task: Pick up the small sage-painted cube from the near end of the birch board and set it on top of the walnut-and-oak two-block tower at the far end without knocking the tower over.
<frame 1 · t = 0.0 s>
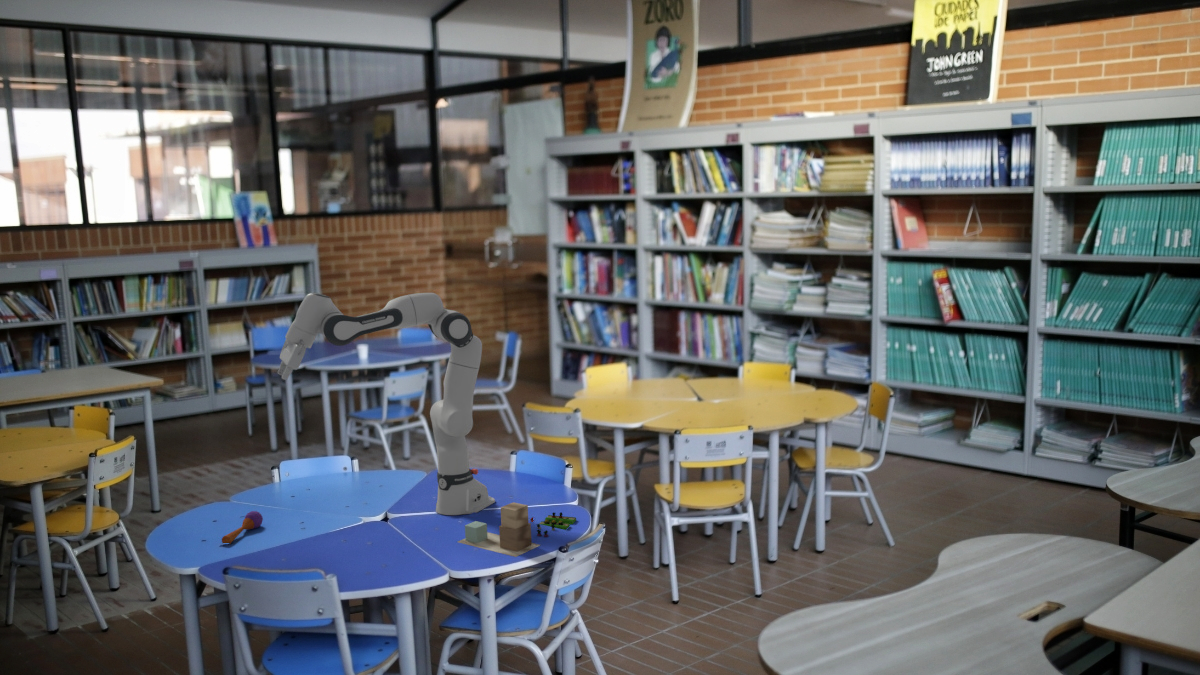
hand: (281, 377, 319), 54 cm above the table, tool tilted 30°, fingers open, 8 cm apart
orange and purple maraca: (243, 535, 331), on the table
birch board: (498, 547, 310), on the table
toy garden set: (538, 531, 326), on the table
walnut base block: (515, 546, 307), point 1 cm above the table, touching birch board, oak middle block
sage cube: (476, 539, 314), point 1 cm above the table, touching birch board
oak middle block: (515, 524, 306), point 8 cm above the table, touching walnut base block
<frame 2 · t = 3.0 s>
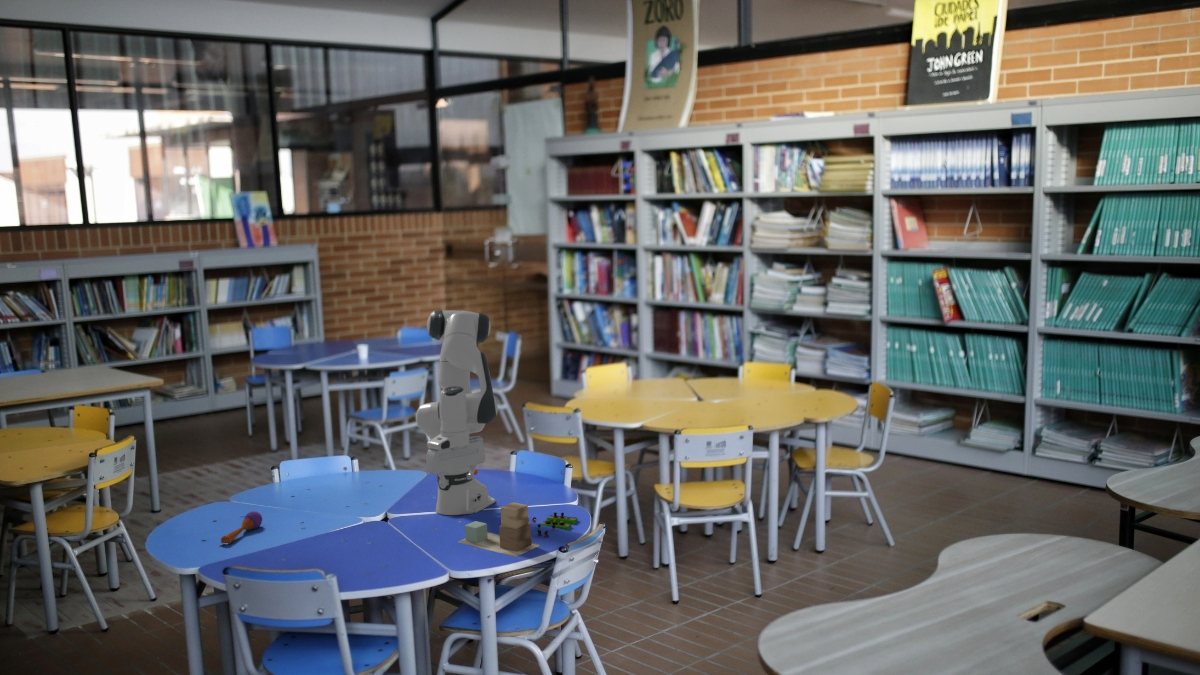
hand: (457, 482, 307), 22 cm above the table, tool pointing down, fingers open, 8 cm apart
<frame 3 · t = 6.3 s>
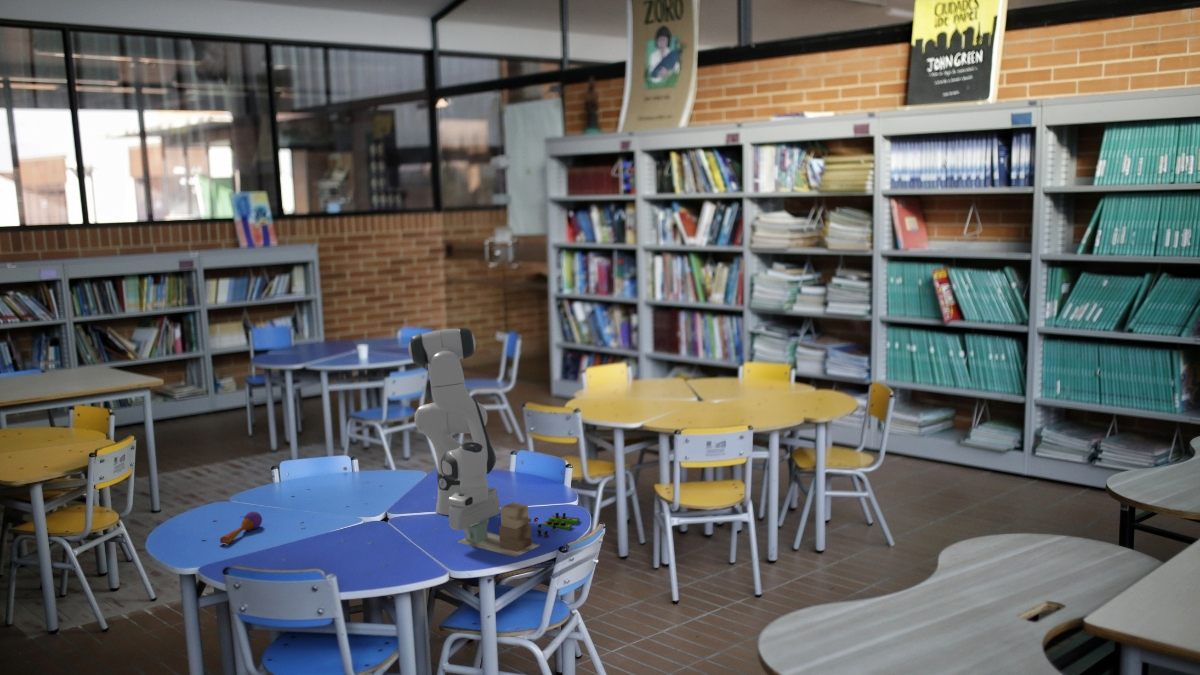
hand: (476, 535, 314), 3 cm above the table, tool pointing down, fingers closed on sage cube, 5 cm apart
sage cube: (476, 539, 314), point 1 cm above the table, touching birch board, gripper
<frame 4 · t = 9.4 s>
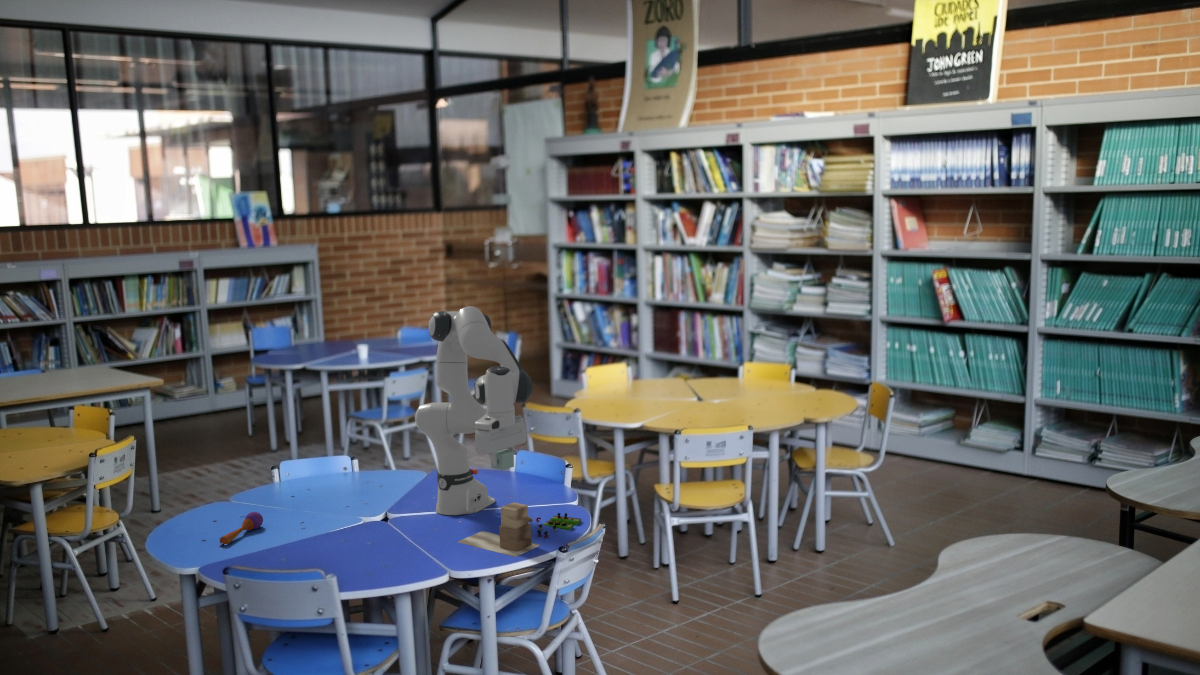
hand: (502, 462, 304), 28 cm above the table, tool pointing down, fingers closed on sage cube, 5 cm apart
sage cube: (502, 467, 305), point 27 cm above the table, touching gripper
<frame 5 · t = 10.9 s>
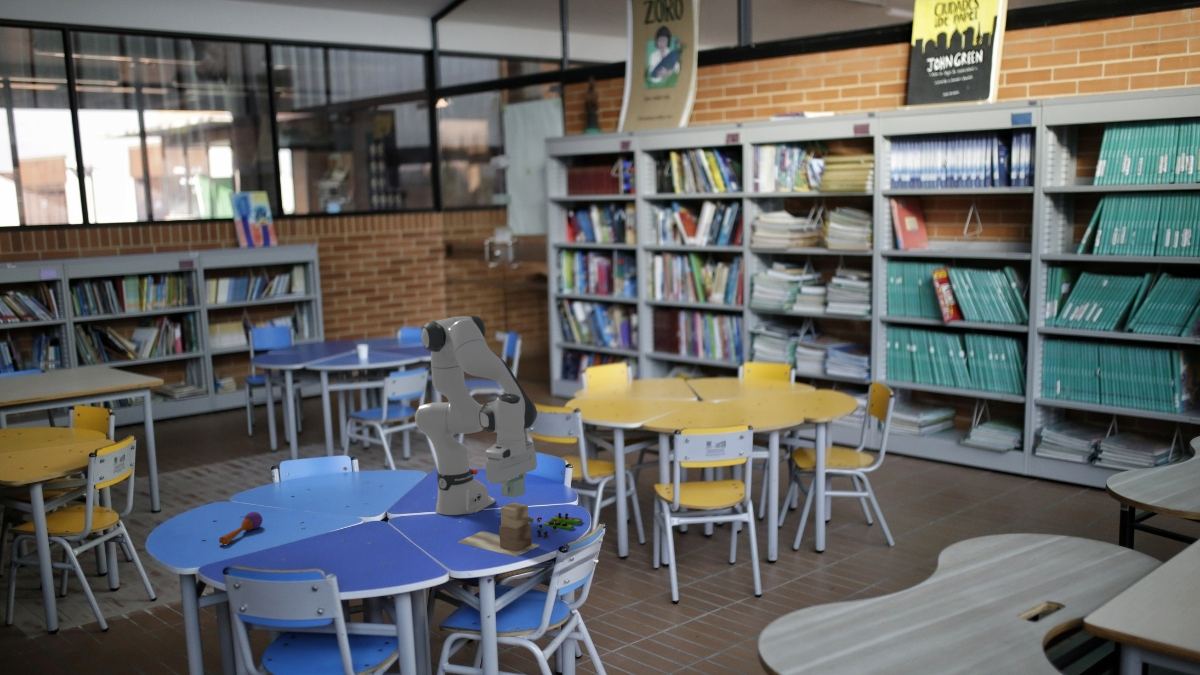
hand: (513, 490, 304), 20 cm above the table, tool pointing down, fingers closed on sage cube, 5 cm apart
sage cube: (513, 494, 304), point 18 cm above the table, touching gripper
when the fingers open (17 cm above the table, at t = 12.5 s): sage cube drops 1 cm, resting on oak middle block.
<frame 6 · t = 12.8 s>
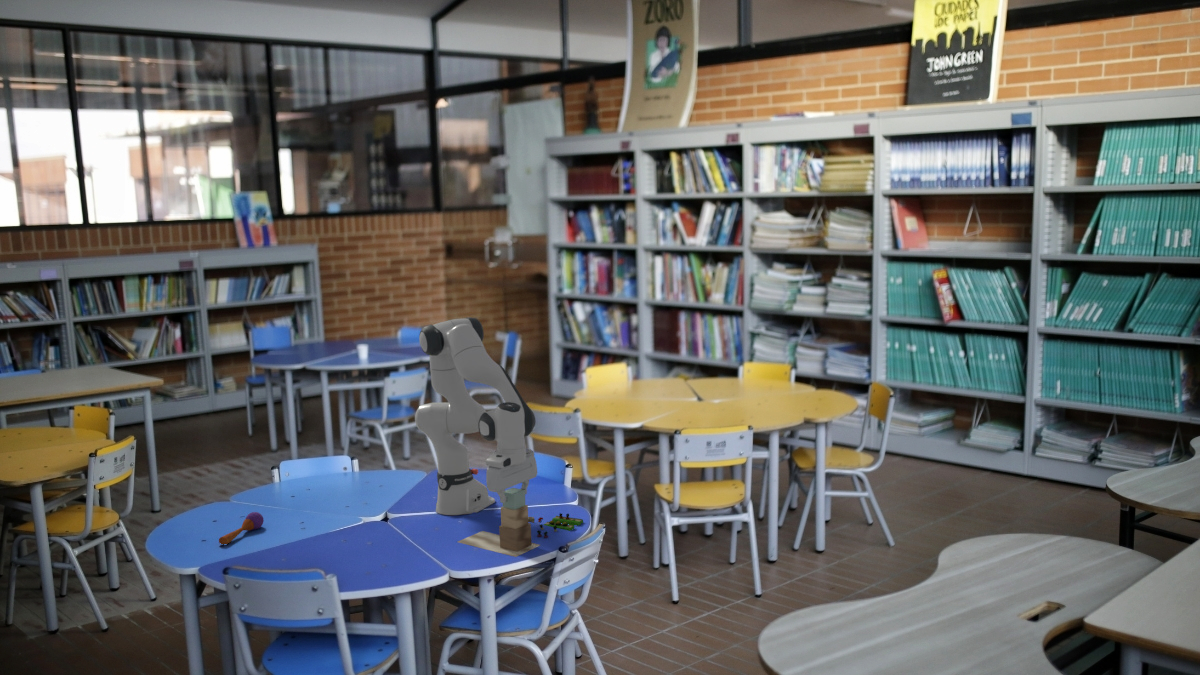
hand: (513, 498, 305), 17 cm above the table, tool pointing down, fingers open, 8 cm apart
sage cube: (514, 506, 305), point 14 cm above the table, touching oak middle block
oak middle block: (515, 524, 306), point 8 cm above the table, touching sage cube, walnut base block
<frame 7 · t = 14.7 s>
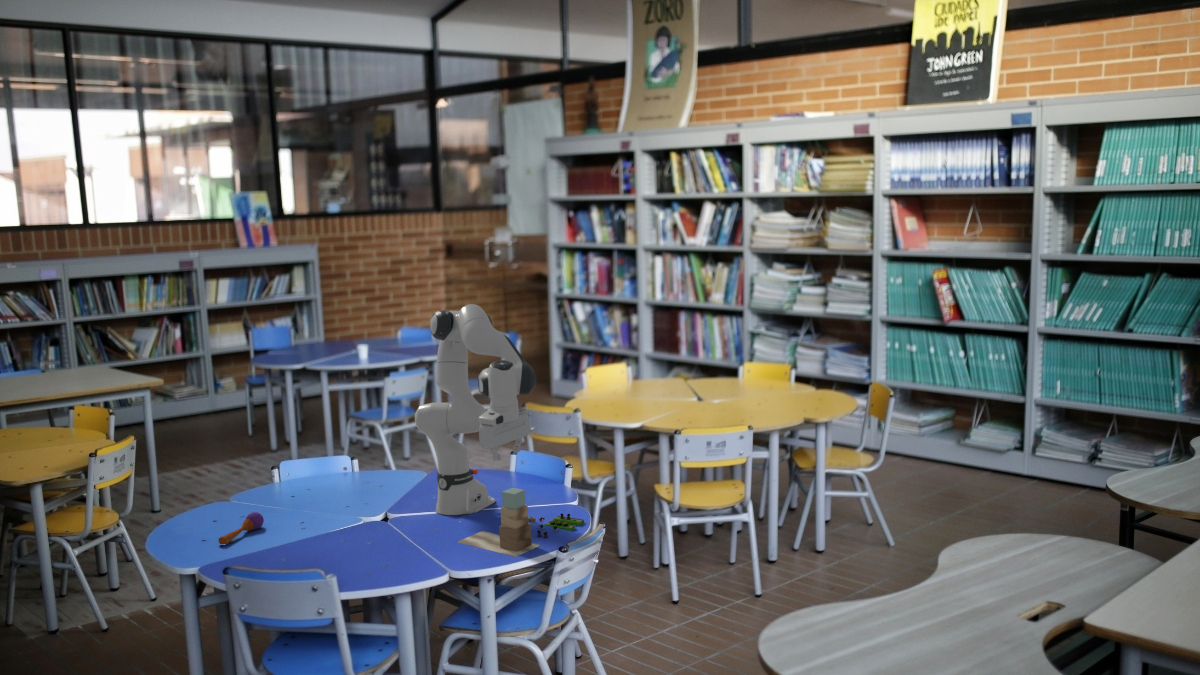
hand: (506, 455, 307), 30 cm above the table, tool pointing down, fingers open, 8 cm apart
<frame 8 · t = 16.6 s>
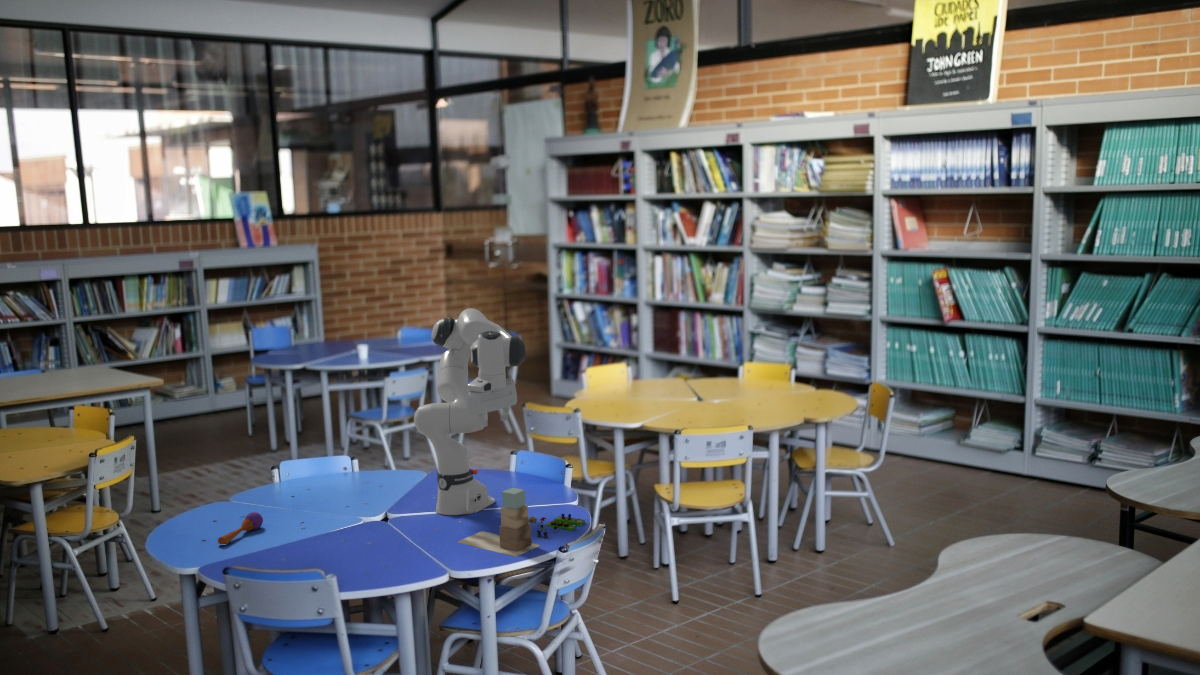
hand: (494, 423, 319), 37 cm above the table, tool pointing down, fingers open, 8 cm apart
at the end: sage cube 0.0 cm off-centre on the oak middle block, point 6.0 cm above the oak middle block's base; oak middle block 0.0 cm off-centre on the walnut base block, point 7.0 cm above the walnut base block's base; walnut base block moved 0.0 cm from its start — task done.
